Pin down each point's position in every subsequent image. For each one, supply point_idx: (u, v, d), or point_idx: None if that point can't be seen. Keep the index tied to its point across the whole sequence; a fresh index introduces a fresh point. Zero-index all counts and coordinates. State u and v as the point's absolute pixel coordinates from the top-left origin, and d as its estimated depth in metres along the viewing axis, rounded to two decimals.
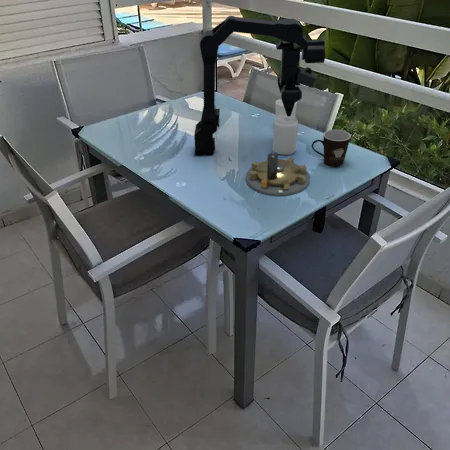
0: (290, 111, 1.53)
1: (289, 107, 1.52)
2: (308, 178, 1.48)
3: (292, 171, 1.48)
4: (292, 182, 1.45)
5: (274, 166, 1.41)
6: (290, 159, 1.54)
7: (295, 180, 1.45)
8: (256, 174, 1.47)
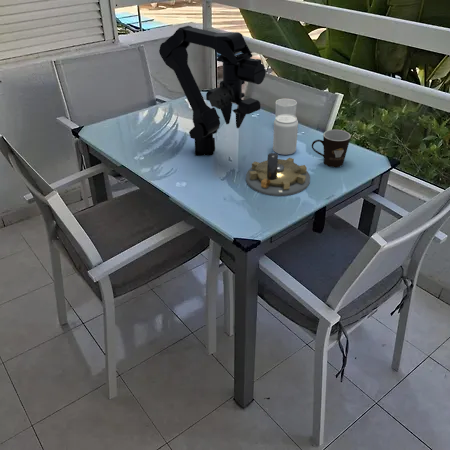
0: None
1: None
2: (308, 178, 1.48)
3: (292, 171, 1.48)
4: (292, 182, 1.45)
5: (274, 166, 1.41)
6: (290, 159, 1.54)
7: (295, 180, 1.45)
8: (256, 174, 1.47)
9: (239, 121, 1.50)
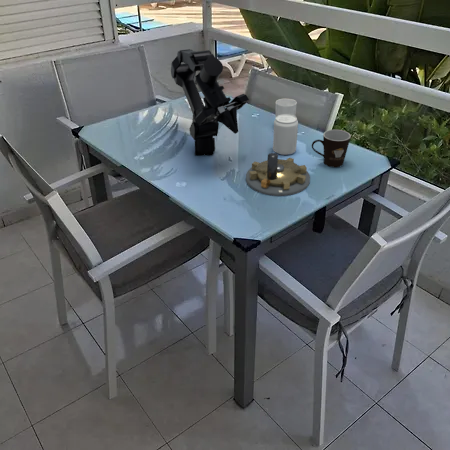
0: None
1: None
2: (308, 178, 1.48)
3: (292, 171, 1.48)
4: (292, 182, 1.45)
5: (274, 166, 1.41)
6: (290, 159, 1.54)
7: (295, 180, 1.45)
8: (256, 174, 1.47)
9: (229, 127, 1.47)
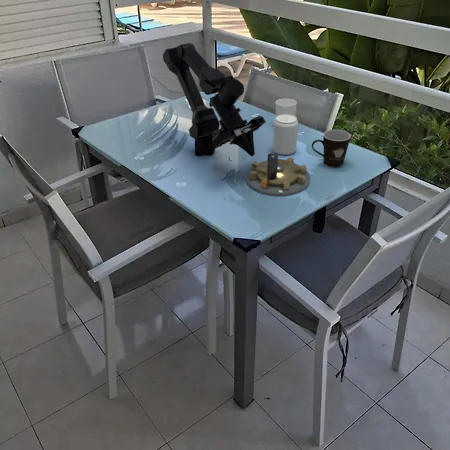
0: None
1: None
2: (308, 178, 1.48)
3: (292, 171, 1.48)
4: (292, 182, 1.45)
5: (274, 166, 1.41)
6: (290, 159, 1.54)
7: (295, 180, 1.45)
8: (256, 174, 1.47)
9: (245, 150, 1.45)
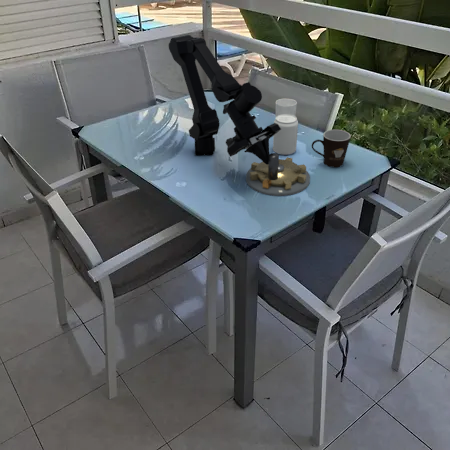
0: None
1: None
2: (308, 178, 1.48)
3: (292, 170, 1.48)
4: (293, 182, 1.45)
5: (275, 166, 1.41)
6: (289, 159, 1.54)
7: (296, 180, 1.45)
8: (257, 175, 1.47)
9: (261, 158, 1.43)
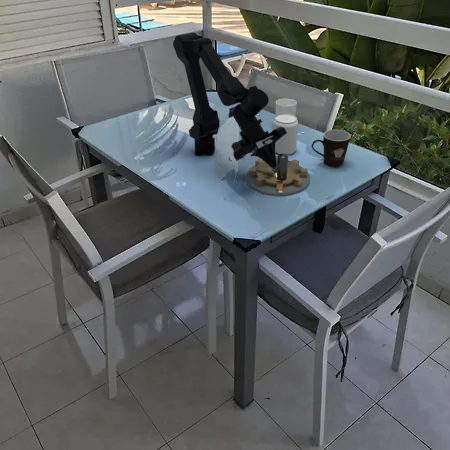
0: None
1: None
2: (308, 178, 1.48)
3: (291, 167, 1.50)
4: None
5: (286, 165, 1.41)
6: (277, 157, 1.55)
7: (300, 175, 1.48)
8: (264, 179, 1.44)
9: (267, 162, 1.42)
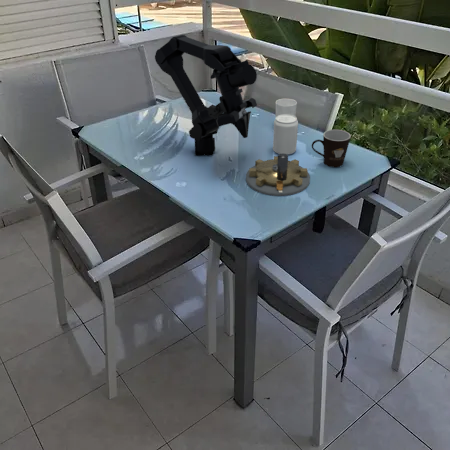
0: None
1: None
2: (308, 178, 1.48)
3: (291, 167, 1.50)
4: None
5: (286, 165, 1.41)
6: (277, 157, 1.55)
7: (300, 175, 1.48)
8: (264, 179, 1.44)
9: (240, 131, 1.50)
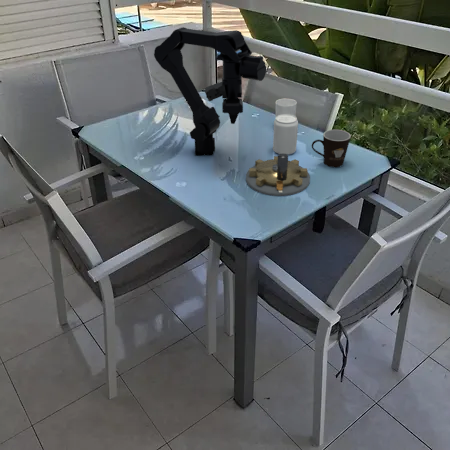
0: None
1: None
2: (308, 178, 1.48)
3: (291, 167, 1.50)
4: None
5: (286, 165, 1.41)
6: (277, 157, 1.55)
7: (300, 175, 1.48)
8: (264, 179, 1.44)
9: (231, 117, 1.52)
